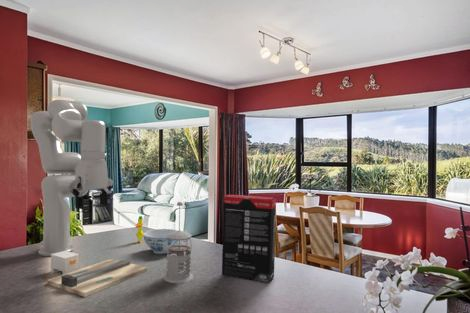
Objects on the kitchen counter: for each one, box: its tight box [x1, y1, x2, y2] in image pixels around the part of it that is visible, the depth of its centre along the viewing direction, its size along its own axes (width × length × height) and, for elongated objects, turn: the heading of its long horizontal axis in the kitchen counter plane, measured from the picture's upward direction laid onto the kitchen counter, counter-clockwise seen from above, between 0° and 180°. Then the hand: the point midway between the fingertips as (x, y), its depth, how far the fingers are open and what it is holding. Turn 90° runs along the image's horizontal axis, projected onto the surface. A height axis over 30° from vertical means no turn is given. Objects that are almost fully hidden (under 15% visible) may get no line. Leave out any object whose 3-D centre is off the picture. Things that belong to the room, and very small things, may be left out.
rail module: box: [50, 251, 80, 275], centre depth 108 cm, size 9×5×6 cm, turn 61°
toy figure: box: [135, 215, 145, 244], centre depth 146 cm, size 7×4×12 cm, turn 174°
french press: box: [163, 201, 194, 284], centre depth 106 cm, size 10×12×25 cm
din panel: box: [46, 258, 148, 298], centre depth 104 cm, size 18×24×4 cm
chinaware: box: [143, 228, 179, 255], centre depth 133 cm, size 15×15×8 cm
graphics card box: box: [221, 194, 277, 284], centre depth 106 cm, size 17×7×27 cm, turn 71°
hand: (91, 206), depth 108 cm, fingers open, 9 cm apart
